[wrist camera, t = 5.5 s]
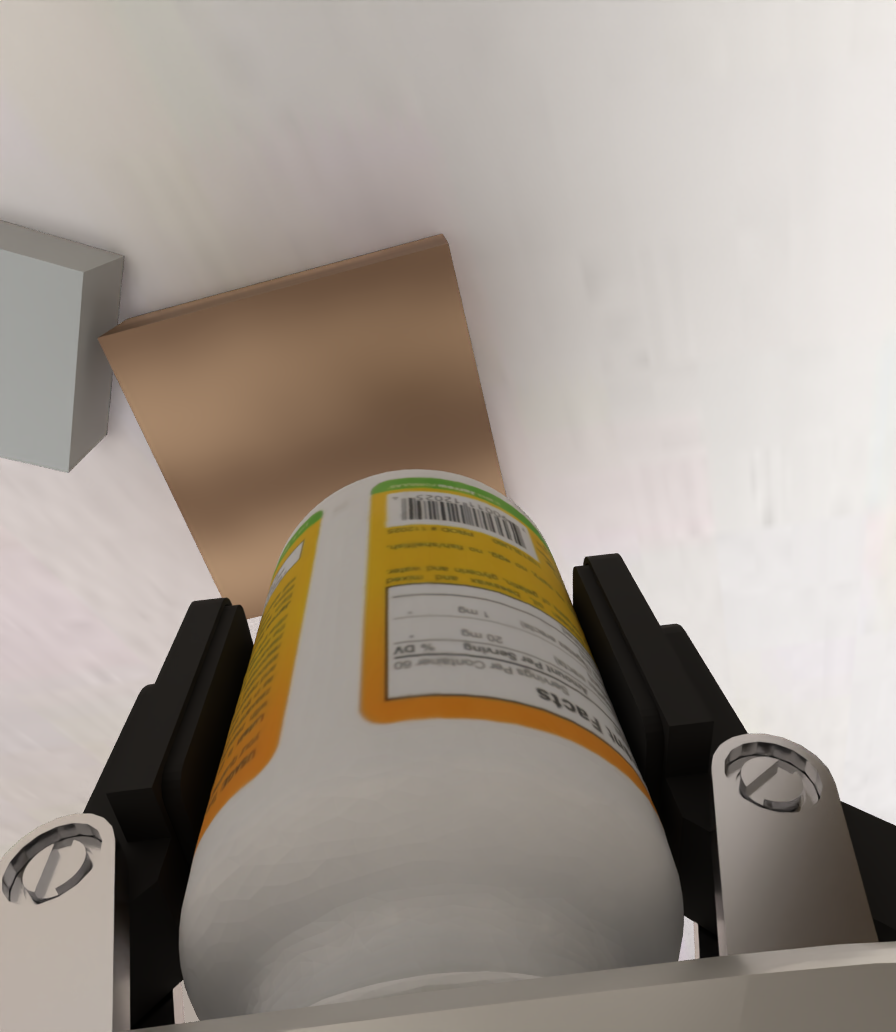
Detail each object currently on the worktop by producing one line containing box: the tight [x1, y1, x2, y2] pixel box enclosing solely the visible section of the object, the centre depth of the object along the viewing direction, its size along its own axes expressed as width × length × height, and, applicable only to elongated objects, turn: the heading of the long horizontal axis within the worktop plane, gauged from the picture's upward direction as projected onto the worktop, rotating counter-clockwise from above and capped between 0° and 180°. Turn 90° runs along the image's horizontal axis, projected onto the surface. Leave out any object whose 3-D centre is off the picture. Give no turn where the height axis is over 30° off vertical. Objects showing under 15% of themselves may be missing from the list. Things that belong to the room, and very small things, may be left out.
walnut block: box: [97, 234, 506, 619], centre depth 27 cm, size 12×12×3 cm
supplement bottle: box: [179, 469, 684, 1021], centre depth 9 cm, size 5×5×10 cm
